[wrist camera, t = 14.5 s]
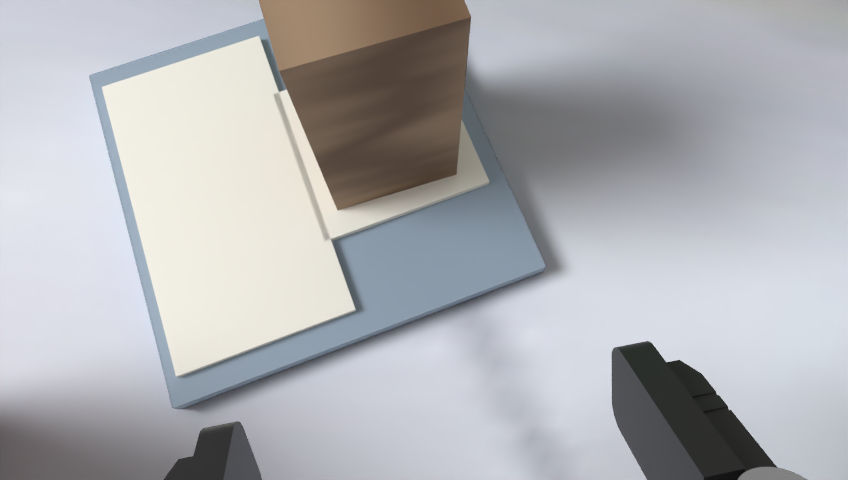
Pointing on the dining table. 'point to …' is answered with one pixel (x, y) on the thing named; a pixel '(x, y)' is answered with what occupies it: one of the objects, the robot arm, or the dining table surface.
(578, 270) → the dining table surface
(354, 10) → the walnut block
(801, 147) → the dining table surface
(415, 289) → the board
